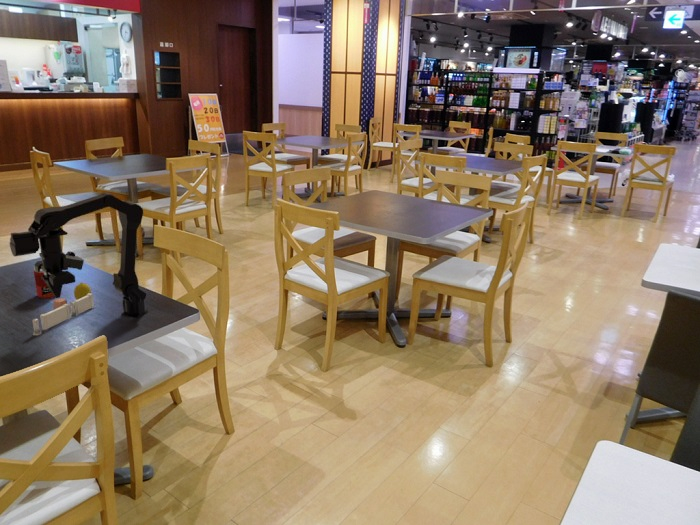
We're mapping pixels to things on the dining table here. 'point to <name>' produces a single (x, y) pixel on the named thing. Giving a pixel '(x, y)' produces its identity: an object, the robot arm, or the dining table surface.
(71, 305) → the hinge post
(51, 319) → the gate
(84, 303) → the fence panel
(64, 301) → the block
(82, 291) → the lemon
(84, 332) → the dining table surface
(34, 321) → the post
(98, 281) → the dining table surface
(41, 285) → the canned food
